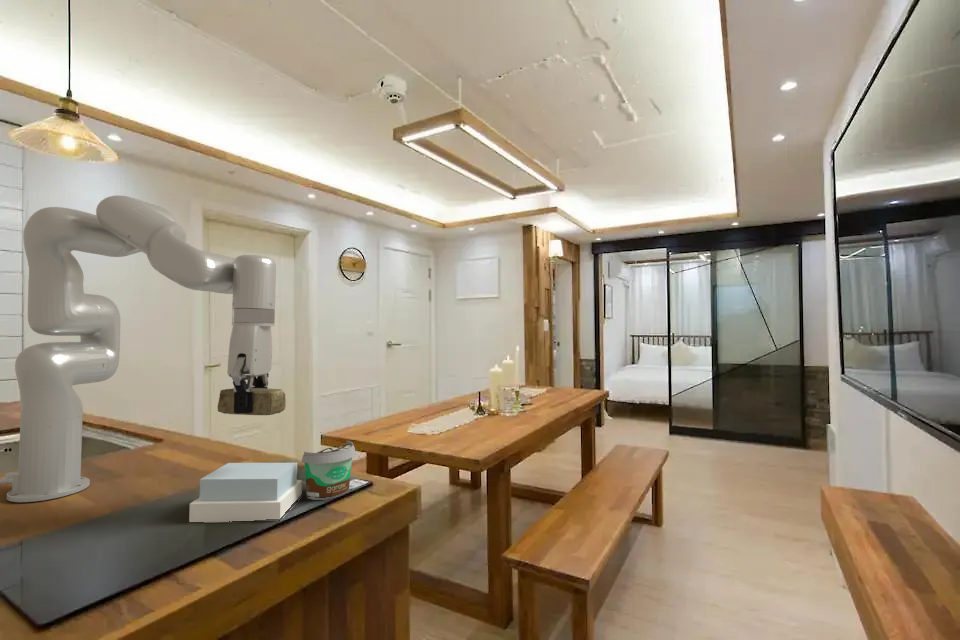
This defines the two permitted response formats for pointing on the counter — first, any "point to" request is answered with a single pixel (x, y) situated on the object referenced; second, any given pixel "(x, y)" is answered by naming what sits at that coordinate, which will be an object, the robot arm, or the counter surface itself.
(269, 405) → the stone block
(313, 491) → the food container
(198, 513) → the tower base slab
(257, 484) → the tower top slab
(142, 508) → the counter surface
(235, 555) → the counter surface
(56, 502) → the counter surface
